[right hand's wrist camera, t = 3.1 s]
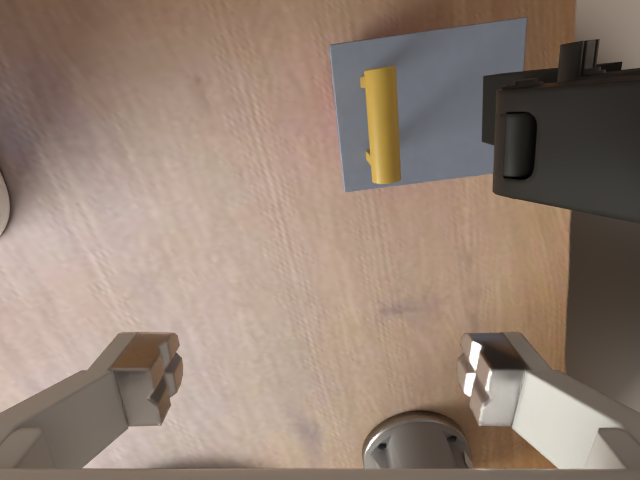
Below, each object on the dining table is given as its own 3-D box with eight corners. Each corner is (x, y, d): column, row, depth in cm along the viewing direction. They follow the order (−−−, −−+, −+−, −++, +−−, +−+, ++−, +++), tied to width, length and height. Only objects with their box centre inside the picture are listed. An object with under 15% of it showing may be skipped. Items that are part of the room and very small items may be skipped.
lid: (343, 189, 29) (353, 223, 21) (328, 46, 25) (334, 26, 18) (511, 168, 28) (580, 195, 21) (521, 19, 24) (609, -13, 17)
